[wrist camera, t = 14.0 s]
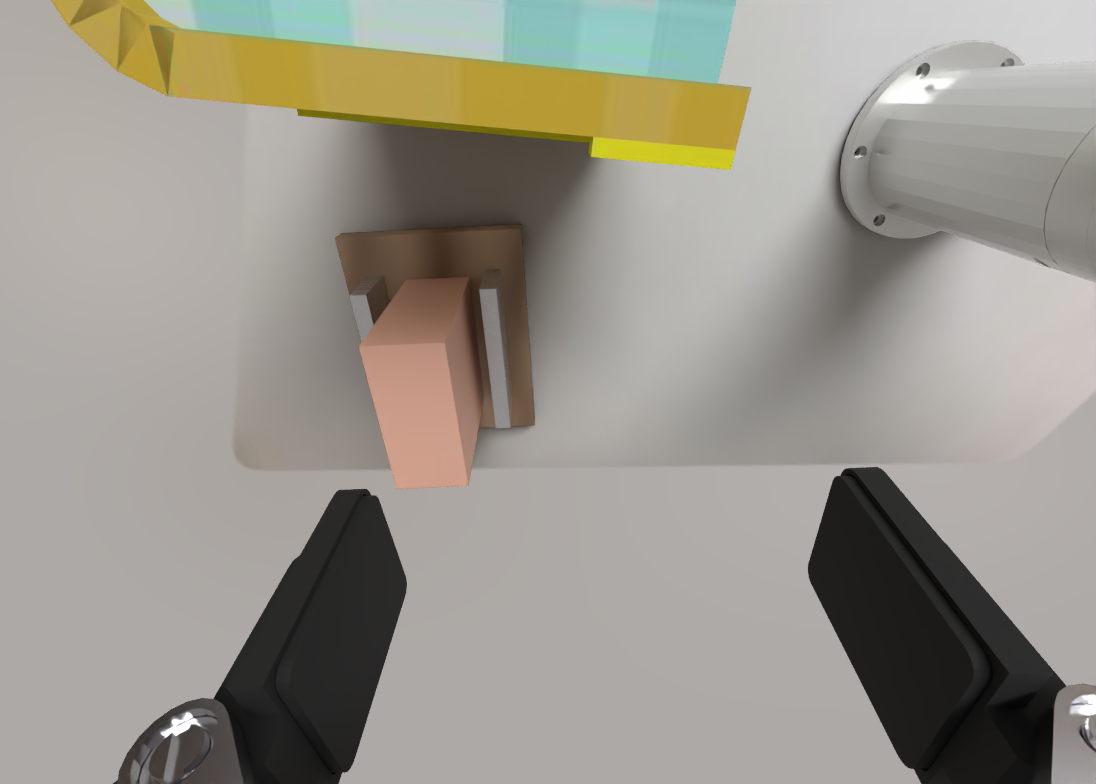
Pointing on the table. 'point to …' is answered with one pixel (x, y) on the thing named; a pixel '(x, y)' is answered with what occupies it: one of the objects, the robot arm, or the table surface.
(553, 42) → the book
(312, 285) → the table surface
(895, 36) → the table surface
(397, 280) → the shelf board
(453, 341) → the small book
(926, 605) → the robot arm
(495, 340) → the bookends
